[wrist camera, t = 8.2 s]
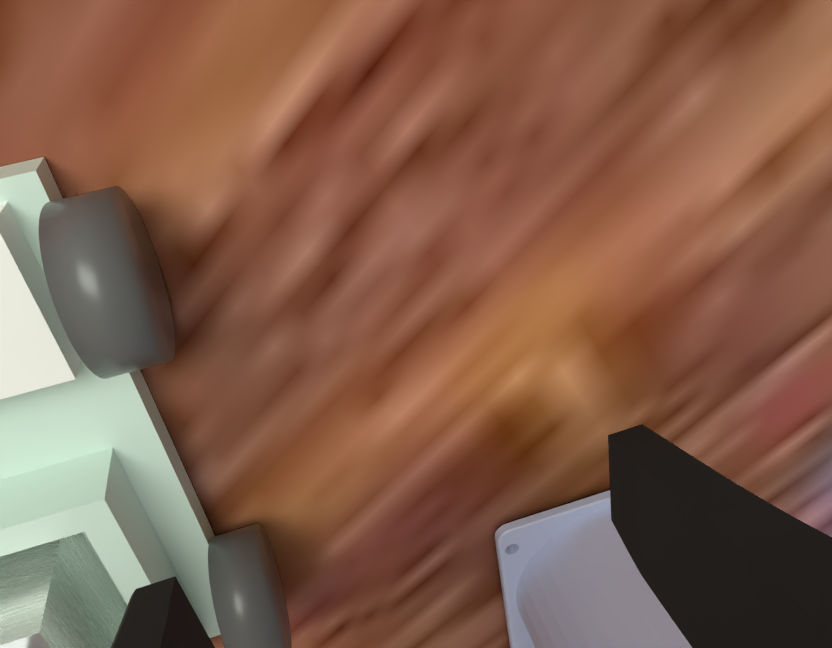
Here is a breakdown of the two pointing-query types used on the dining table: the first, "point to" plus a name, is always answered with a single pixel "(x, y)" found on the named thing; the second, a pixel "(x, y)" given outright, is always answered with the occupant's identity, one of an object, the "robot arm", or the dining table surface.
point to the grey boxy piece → (58, 597)
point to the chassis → (107, 411)
